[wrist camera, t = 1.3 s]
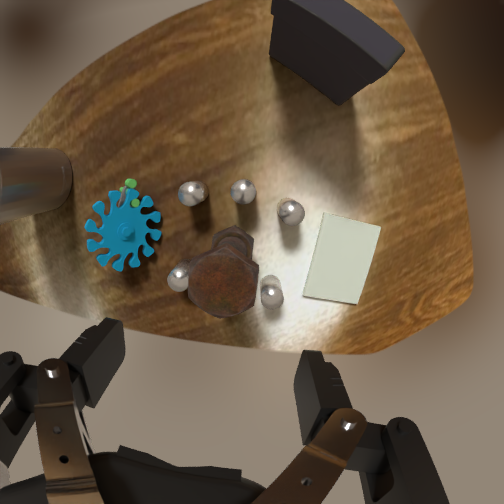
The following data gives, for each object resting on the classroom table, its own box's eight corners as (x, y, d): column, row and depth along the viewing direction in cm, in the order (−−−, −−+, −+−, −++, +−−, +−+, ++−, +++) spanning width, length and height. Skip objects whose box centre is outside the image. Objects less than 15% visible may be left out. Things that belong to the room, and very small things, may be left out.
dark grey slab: (354, 88, 29) (411, 45, 15) (335, 109, 30) (389, 72, 16) (285, 37, 27) (302, -31, 13) (265, 58, 28) (272, -9, 14)
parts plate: (302, 293, 36) (303, 295, 36) (323, 212, 34) (324, 213, 33) (355, 302, 37) (357, 304, 36) (379, 226, 34) (380, 227, 33)
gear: (154, 275, 34) (81, 270, 27) (137, 260, 38) (72, 254, 31) (174, 189, 33) (100, 171, 25) (154, 185, 37) (89, 169, 29)
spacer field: (175, 283, 36) (165, 298, 32) (191, 169, 32) (182, 169, 28) (275, 303, 37) (278, 319, 33) (302, 190, 33) (309, 193, 29)
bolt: (252, 263, 35) (251, 324, 21) (213, 259, 35) (186, 316, 21) (258, 218, 34) (261, 252, 19) (217, 213, 34) (189, 243, 19)
